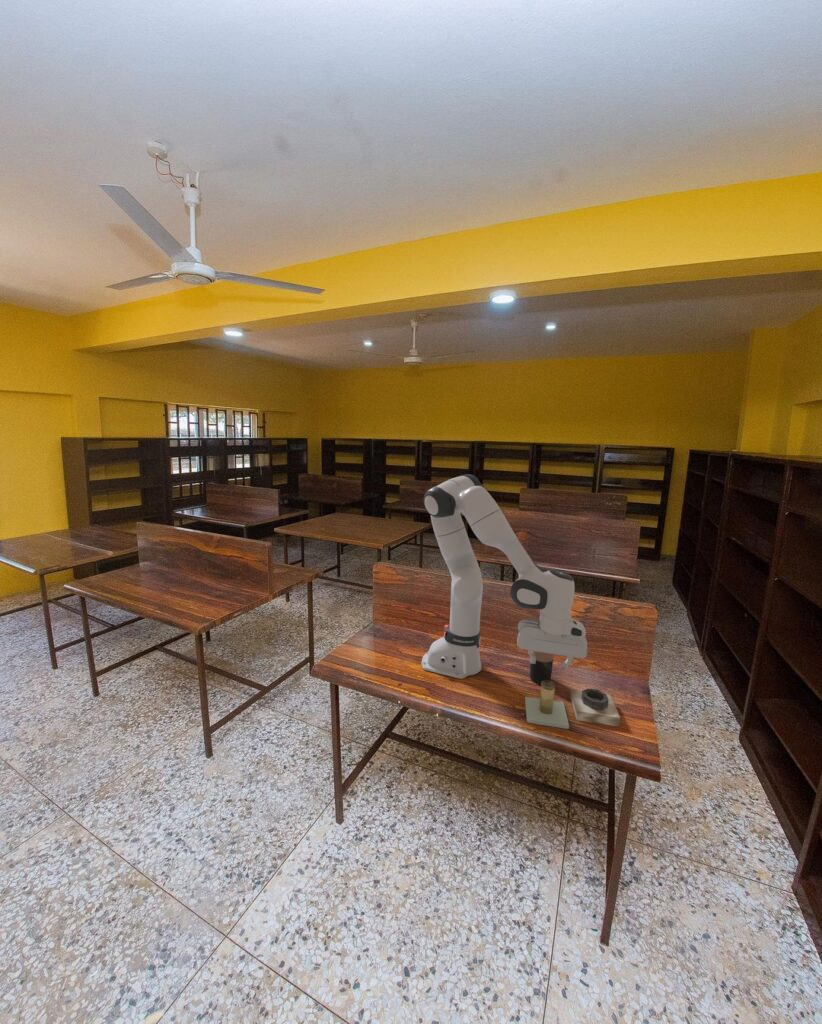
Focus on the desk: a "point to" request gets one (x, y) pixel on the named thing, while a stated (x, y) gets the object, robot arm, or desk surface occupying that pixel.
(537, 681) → the travel mug
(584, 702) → the beige base with ring
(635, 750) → the desk surface
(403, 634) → the desk surface
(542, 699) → the brass peg
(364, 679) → the desk surface
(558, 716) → the sage pad
